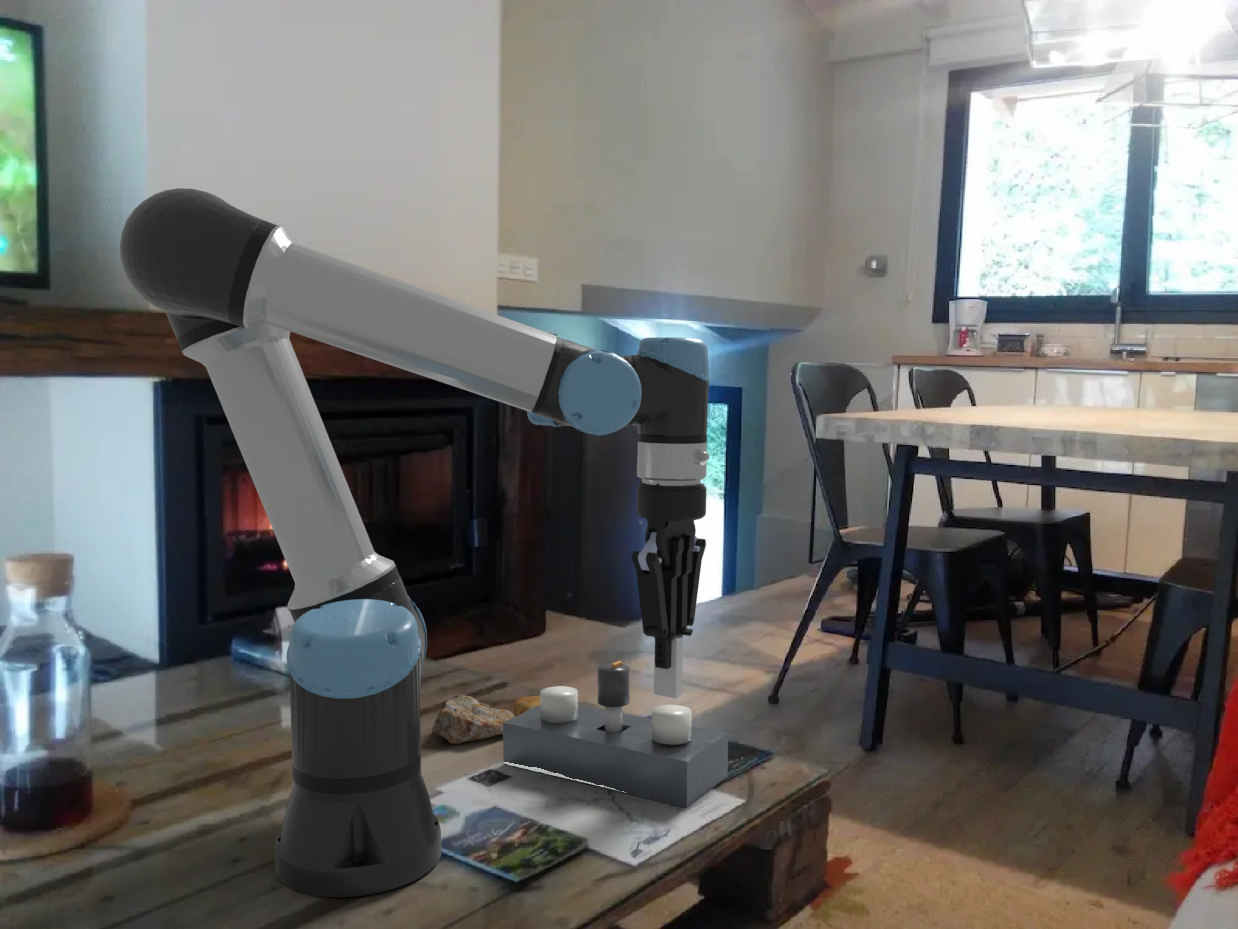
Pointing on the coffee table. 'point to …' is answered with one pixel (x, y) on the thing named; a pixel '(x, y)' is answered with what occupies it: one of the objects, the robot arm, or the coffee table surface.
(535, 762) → the panel
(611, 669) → the pot knob
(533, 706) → the pastry
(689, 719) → the plunger near
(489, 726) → the rock
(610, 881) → the coffee table surface
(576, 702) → the plunger far
